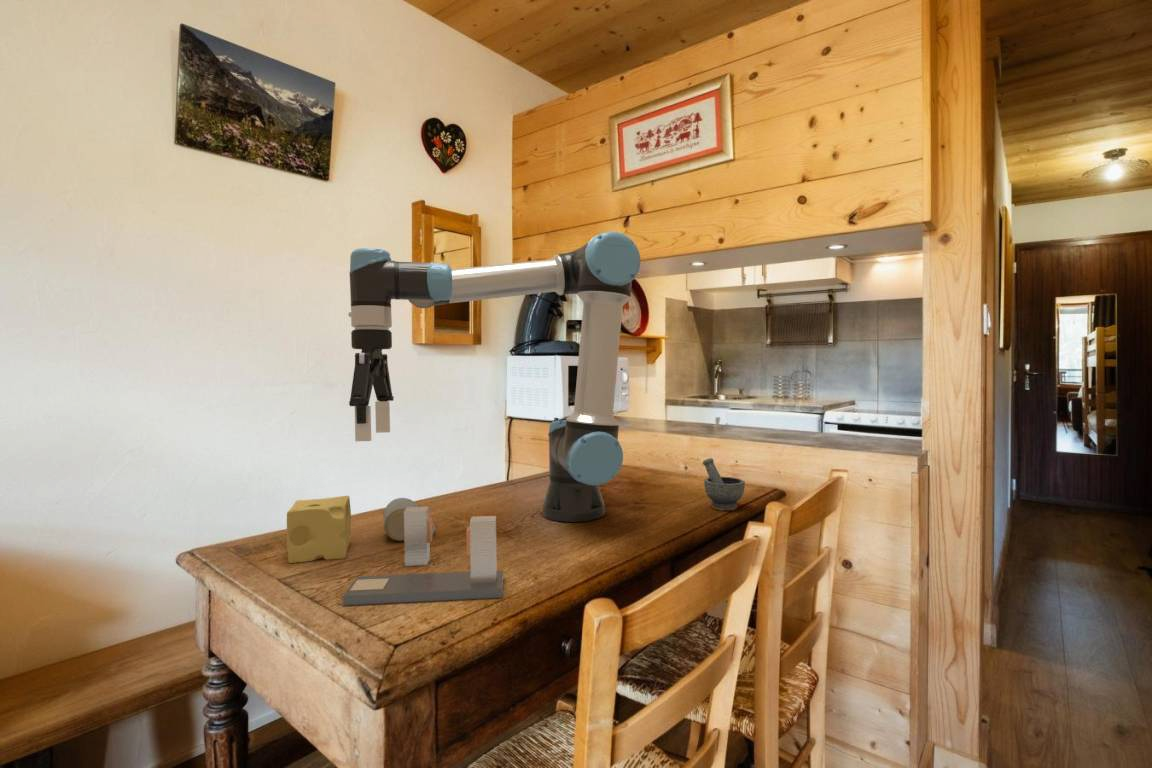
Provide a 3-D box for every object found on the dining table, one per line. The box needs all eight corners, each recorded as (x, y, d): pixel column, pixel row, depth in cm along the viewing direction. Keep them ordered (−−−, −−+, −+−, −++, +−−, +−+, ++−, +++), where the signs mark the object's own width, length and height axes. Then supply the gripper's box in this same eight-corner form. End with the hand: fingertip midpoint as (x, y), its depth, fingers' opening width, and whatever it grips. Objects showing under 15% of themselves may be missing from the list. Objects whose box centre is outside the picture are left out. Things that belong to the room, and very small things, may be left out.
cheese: (346, 559, 107) (345, 506, 107) (284, 565, 104) (282, 511, 104) (352, 542, 117) (351, 494, 117) (294, 547, 114) (293, 498, 114)
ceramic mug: (383, 544, 116) (383, 507, 115) (383, 533, 123) (383, 498, 123) (437, 540, 119) (437, 503, 119) (433, 529, 127) (433, 495, 127)
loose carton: (433, 559, 107) (432, 506, 106) (430, 564, 104) (429, 510, 103) (408, 560, 106) (407, 507, 106) (404, 565, 103) (403, 511, 103)
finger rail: (503, 578, 97) (502, 511, 96) (502, 597, 89) (501, 524, 88) (357, 585, 94) (356, 516, 94) (342, 605, 86) (341, 530, 86)
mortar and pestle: (751, 508, 143) (752, 460, 142) (729, 514, 137) (729, 465, 136) (714, 500, 151) (714, 455, 151) (692, 505, 145) (692, 459, 145)
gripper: (370, 332, 124) (372, 429, 125) (329, 324, 99) (331, 445, 100) (405, 332, 125) (407, 429, 125) (373, 324, 100) (375, 444, 100)
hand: (373, 436), depth 113 cm, fingers open, 13 cm apart
